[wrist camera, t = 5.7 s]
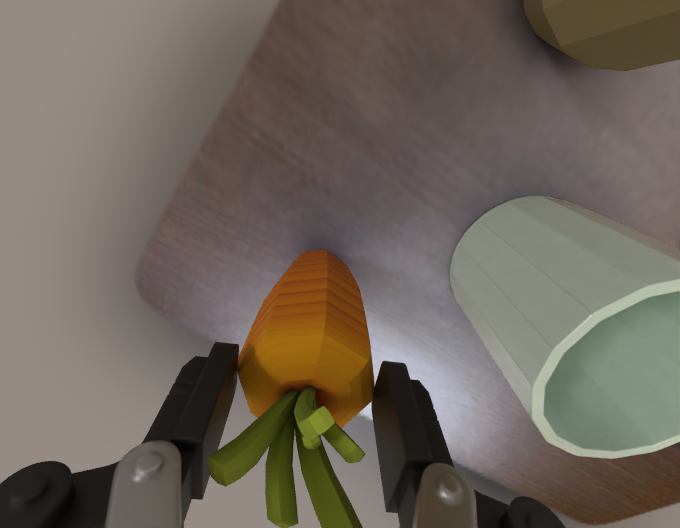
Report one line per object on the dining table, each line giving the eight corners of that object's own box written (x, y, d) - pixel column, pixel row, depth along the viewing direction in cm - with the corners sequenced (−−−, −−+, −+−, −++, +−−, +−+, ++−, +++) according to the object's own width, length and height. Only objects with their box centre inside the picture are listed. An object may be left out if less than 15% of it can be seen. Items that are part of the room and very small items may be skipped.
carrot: (263, 242, 21) (129, 510, 7) (335, 202, 20) (331, 429, 6) (307, 302, 23) (264, 604, 9) (374, 269, 22) (436, 554, 8)
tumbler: (432, 314, 23) (497, 449, 14) (477, 183, 20) (604, 258, 11) (553, 329, 24) (685, 465, 15) (618, 208, 21) (845, 295, 12)
